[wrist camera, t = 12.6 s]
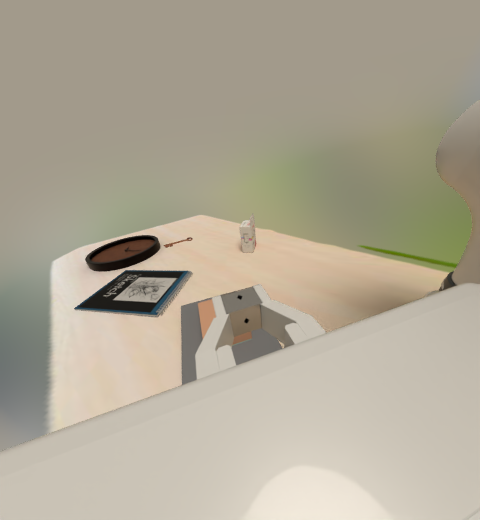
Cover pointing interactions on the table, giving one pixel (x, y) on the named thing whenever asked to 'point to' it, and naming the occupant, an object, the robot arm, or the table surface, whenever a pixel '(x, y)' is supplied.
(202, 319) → the tile
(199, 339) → the mat
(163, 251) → the table surface
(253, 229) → the ink cartridge box
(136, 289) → the sketchbook
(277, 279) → the table surface
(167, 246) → the key
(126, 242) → the wall clock
